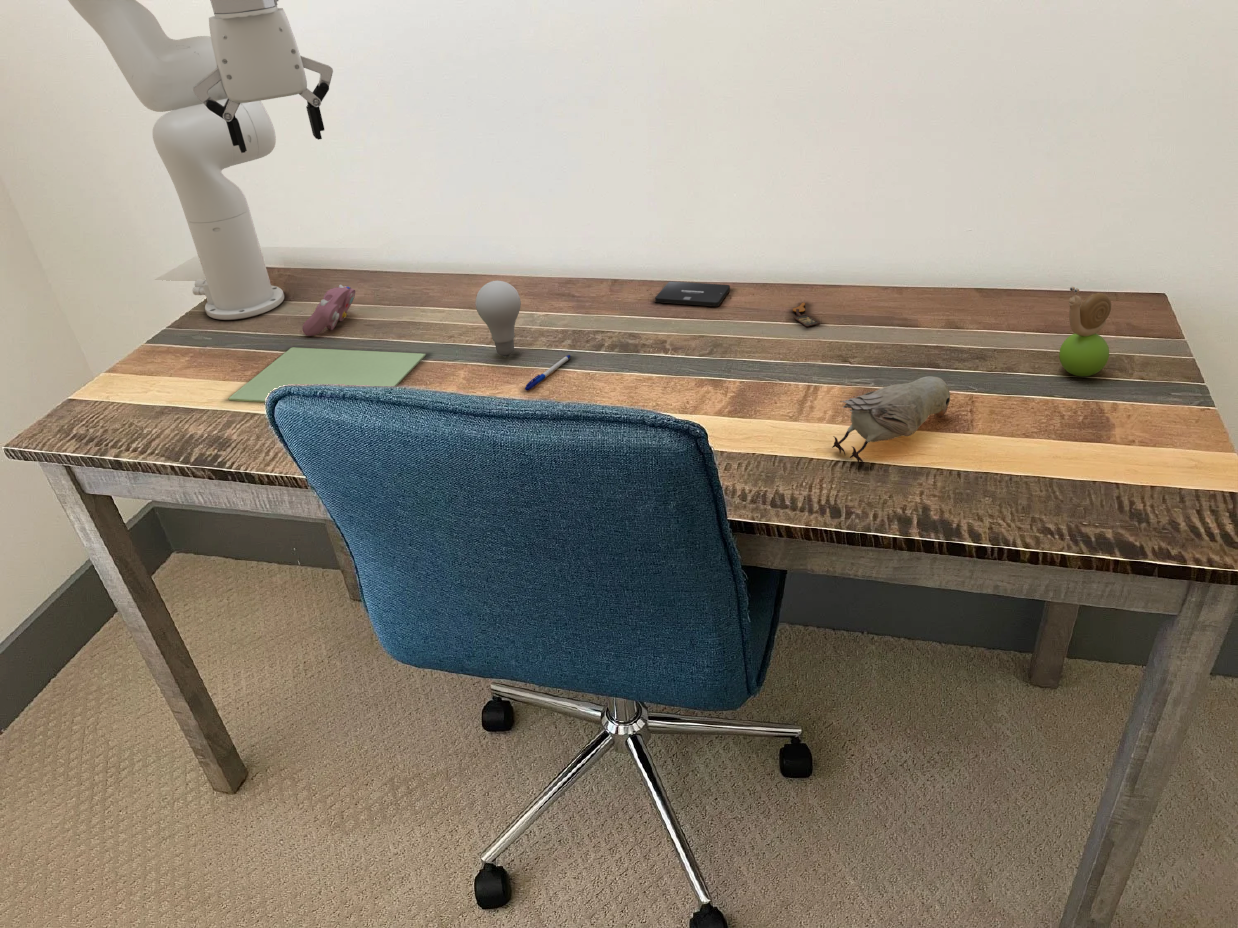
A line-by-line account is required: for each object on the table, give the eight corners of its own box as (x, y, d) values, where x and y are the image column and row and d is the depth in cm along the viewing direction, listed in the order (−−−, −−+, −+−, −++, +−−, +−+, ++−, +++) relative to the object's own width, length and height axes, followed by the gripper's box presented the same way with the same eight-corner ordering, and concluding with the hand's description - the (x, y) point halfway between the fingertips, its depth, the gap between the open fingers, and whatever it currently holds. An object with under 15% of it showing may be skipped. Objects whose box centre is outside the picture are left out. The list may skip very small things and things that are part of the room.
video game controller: (326, 347, 147) (335, 309, 143) (299, 334, 147) (307, 296, 143) (354, 320, 155) (363, 284, 151) (328, 308, 155) (336, 271, 151)
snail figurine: (1039, 373, 119) (1055, 280, 112) (1080, 360, 121) (1097, 269, 114) (1073, 390, 114) (1091, 295, 108) (1114, 377, 116) (1134, 283, 110)
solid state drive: (717, 306, 144) (717, 302, 143) (654, 302, 147) (654, 298, 147) (730, 289, 149) (730, 285, 149) (669, 285, 153) (669, 281, 152)
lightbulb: (535, 349, 137) (525, 275, 131) (514, 368, 132) (502, 292, 126) (499, 344, 139) (487, 272, 133) (476, 362, 134) (463, 288, 129)
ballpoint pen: (530, 392, 125) (528, 385, 125) (524, 391, 126) (523, 384, 125) (571, 358, 133) (570, 352, 132) (566, 357, 133) (565, 351, 133)
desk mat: (228, 400, 131) (228, 398, 131) (292, 349, 144) (291, 347, 144) (373, 409, 125) (373, 407, 125) (426, 355, 138) (425, 353, 138)
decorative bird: (961, 424, 110) (969, 365, 106) (858, 473, 103) (862, 412, 99) (925, 407, 114) (930, 349, 110) (823, 453, 107) (825, 394, 103)
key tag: (821, 325, 135) (821, 321, 135) (800, 328, 135) (800, 324, 135) (804, 303, 142) (804, 299, 142) (784, 305, 142) (784, 302, 142)
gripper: (310, -10, 123) (341, 127, 132) (167, 8, 118) (210, 150, 127) (319, -6, 117) (351, 138, 126) (170, 13, 112) (214, 162, 121)
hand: (280, 144), depth 127 cm, fingers open, 9 cm apart
